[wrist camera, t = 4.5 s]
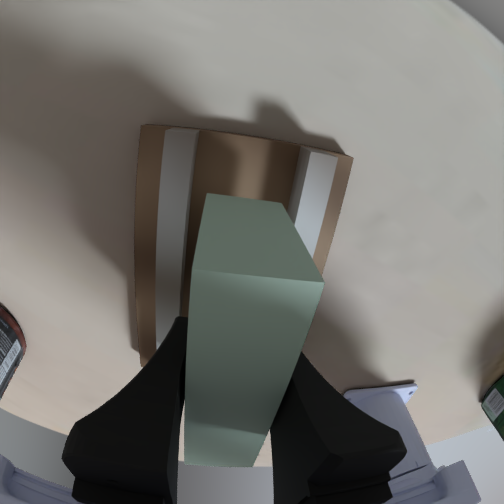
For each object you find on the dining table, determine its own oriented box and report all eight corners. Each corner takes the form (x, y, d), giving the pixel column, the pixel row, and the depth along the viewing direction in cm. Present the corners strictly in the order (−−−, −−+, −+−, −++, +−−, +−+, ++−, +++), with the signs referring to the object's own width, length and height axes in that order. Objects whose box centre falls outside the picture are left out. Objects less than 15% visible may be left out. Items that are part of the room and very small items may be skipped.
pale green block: (243, 374, 17) (252, 467, 11) (190, 369, 16) (184, 464, 11) (281, 202, 12) (324, 282, 7) (206, 192, 12) (192, 268, 7)
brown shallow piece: (283, 368, 21) (290, 398, 19) (143, 356, 20) (136, 386, 17) (346, 154, 15) (369, 165, 12) (146, 124, 13) (129, 128, 11)
